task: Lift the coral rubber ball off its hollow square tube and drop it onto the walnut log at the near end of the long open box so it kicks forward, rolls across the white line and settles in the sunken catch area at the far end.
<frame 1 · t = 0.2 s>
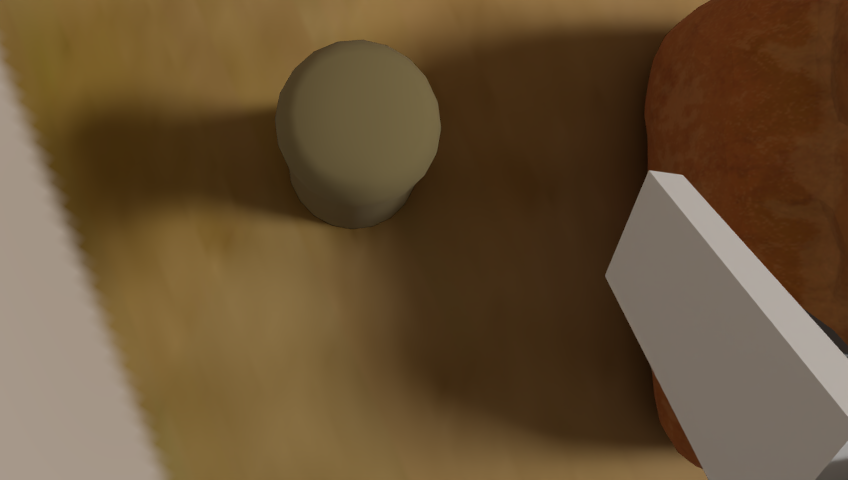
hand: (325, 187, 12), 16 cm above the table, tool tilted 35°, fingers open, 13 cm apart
cork: (353, 165, 29), on the table
bread: (772, 238, 32), on the table
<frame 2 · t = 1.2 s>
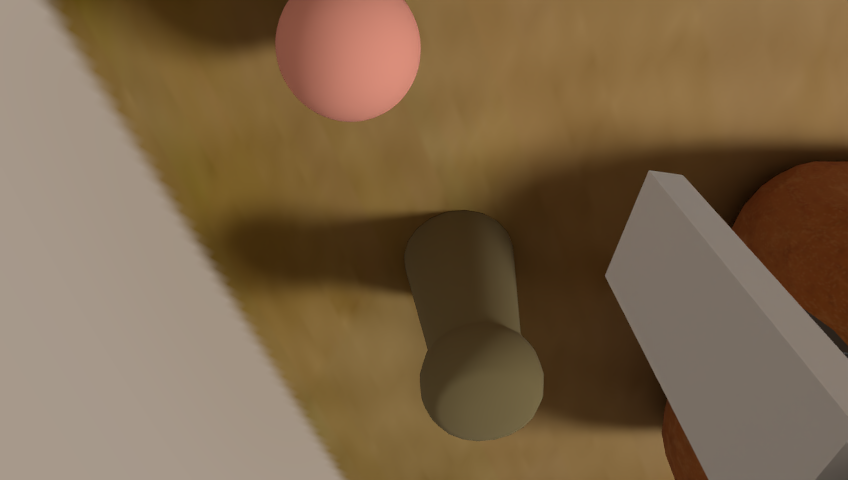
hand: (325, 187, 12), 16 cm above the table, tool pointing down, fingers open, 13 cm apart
ball: (349, 48, 21), point 6 cm above the table, touching hollow square tube
cork: (458, 255, 33), on the table
bread: (805, 307, 37), on the table
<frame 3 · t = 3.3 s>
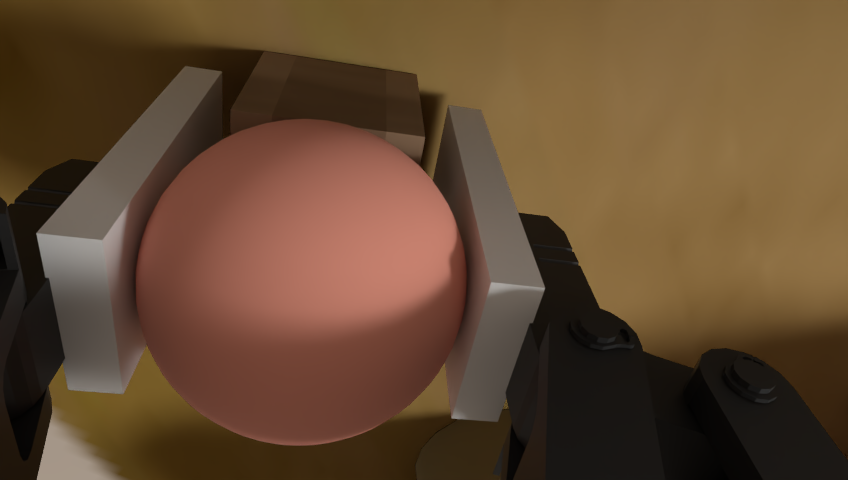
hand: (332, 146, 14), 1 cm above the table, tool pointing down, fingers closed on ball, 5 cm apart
ball: (309, 279, 10), point 6 cm above the table, touching gripper, hollow square tube
cork: (497, 461, 22), on the table
hollow square tube: (334, 133, 14), on the table
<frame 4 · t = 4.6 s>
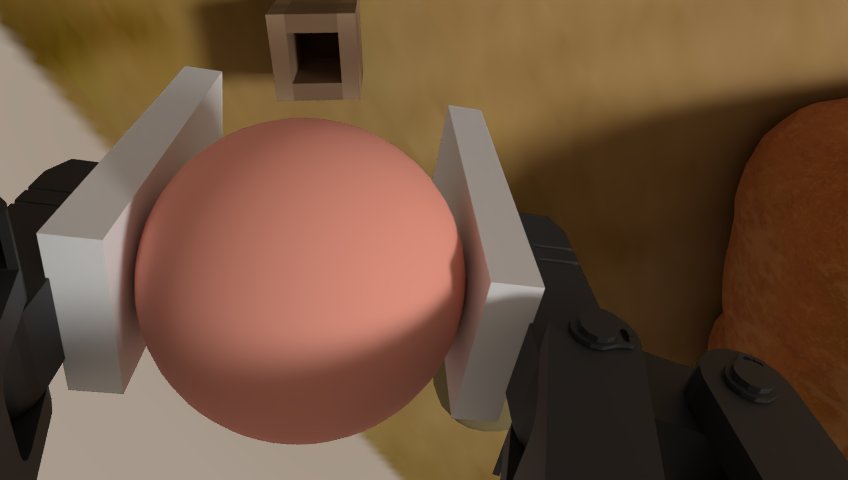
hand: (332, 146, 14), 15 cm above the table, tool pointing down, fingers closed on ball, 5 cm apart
ball: (308, 278, 10), point 20 cm above the table, touching gripper
cork: (468, 250, 34), on the table
hollow square tube: (322, 35, 27), on the table
bread: (839, 251, 36), on the table
when the fingers open (8 cm above the table, at t = 6.4 s): ball drops 10 cm, resting on long open box.
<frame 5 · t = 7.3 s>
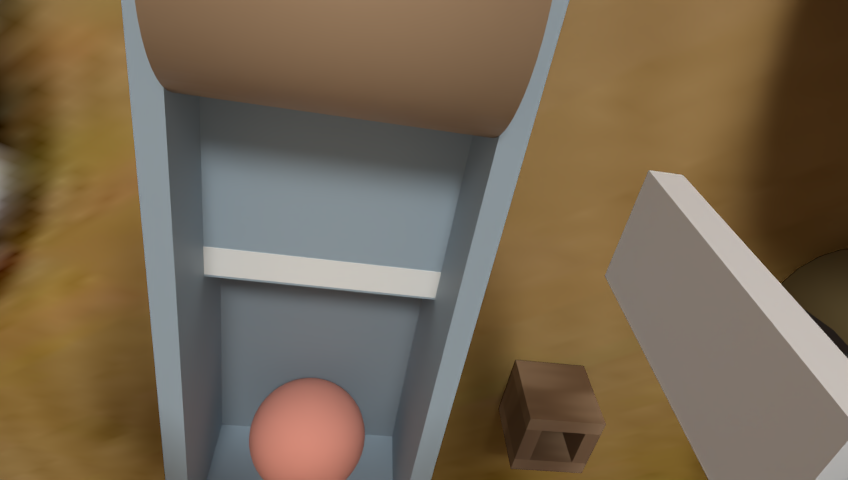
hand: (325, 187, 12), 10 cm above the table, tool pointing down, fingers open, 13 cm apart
ball: (307, 435, 27), point 3 cm above the table, tilted 21°, touching long open box
cork: (829, 299, 28), on the table
hollow square tube: (540, 387, 30), on the table
long open box: (331, 214, 24), on the table
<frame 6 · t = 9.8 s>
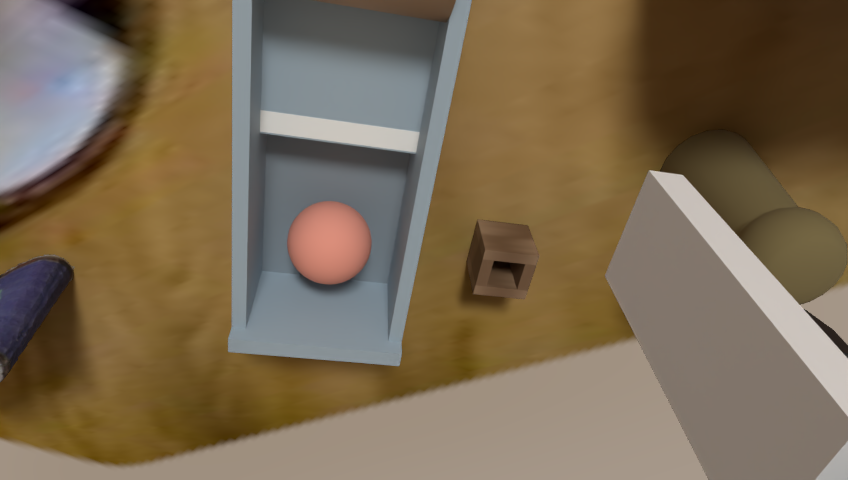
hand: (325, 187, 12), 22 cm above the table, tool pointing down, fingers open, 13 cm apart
ball: (329, 242, 36), point 3 cm above the table, tilted 20°, touching long open box
cork: (703, 172, 39), on the table
hollow square tube: (496, 244, 40), on the table
long open box: (344, 99, 34), on the table
flask: (20, 289, 40), on the table
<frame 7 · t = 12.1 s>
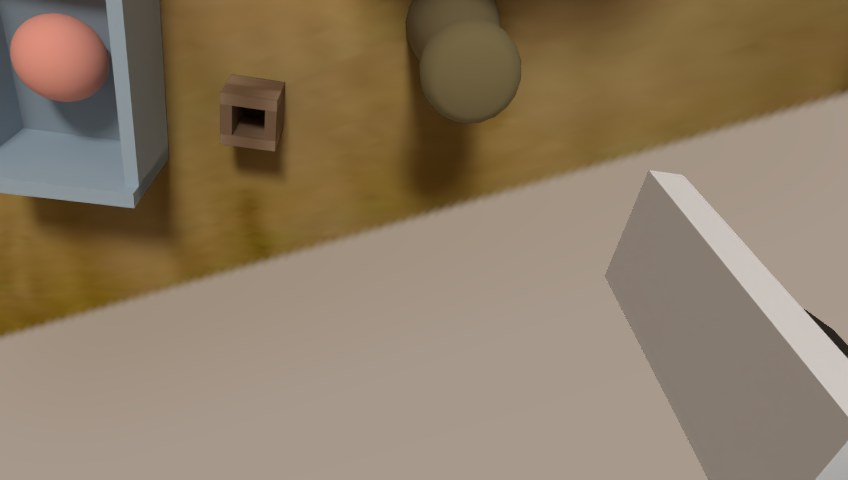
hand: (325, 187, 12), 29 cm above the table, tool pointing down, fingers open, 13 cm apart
ball: (61, 58, 36), point 3 cm above the table, tilted 58°, touching long open box
cork: (452, 25, 39), on the table
hollow square tube: (258, 102, 41), on the table
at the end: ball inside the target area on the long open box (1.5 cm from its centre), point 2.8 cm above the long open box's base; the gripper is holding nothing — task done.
